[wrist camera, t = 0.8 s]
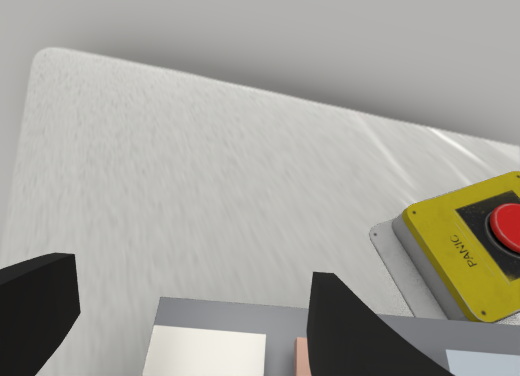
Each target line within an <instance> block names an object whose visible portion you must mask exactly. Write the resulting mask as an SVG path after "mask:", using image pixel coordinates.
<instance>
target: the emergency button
mask: <svg viewBox="0 0 520 376" xmlns="http://www.w3.org/2000/svg"><path fill="white" fill-rule="evenodd" d="M369 236H370V240H371V242H372V243H373V245H374V247H375V249H376V250H377V252H378V254H379V256H380V257H381V259H382V261H383V263H384V265H385V266H386V268H387V270H388V272H389V273H390V275H391V277H392V279H393V280H394V282H395V284H396V286H397V287H398V289H399V291H400V293H401V294H402V296H403V298H404V300H405V301H406V303H407V305H408V307H409V308H410V310H411V312H412V314H413V315H414V317H419V318H431V319H444V320H456V321H469V322H481V323H496V322H498V321H500V320H503V319H505V318H507V317H510V316H512V315H514V314H517V313H519V312H520V172H519V171H512V172H509V173H506V174H503V175H500V176H497V177H494V178H491V179H488V180H485V181H482V182H479V183H476V184H473V185H470V186H467V187H464V188H461V189H458V190H454V191H451V192H448V193H445V194H442V195H439V196H436V197H433V198H430V199H427V200H424V201H421V202H418V203H415V204H412V205H410V206H409V207H408V208H406V209H405V210H404V211H403V213H401V214H400V215H399V216H398V217H397V218H395V219H392V220H389V221H386V222H383V223H380V224H377V225H376V226H374V227H372V228H371V230H370V233H369Z"/></svg>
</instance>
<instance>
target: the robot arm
mask: <svg viewBox="0 0 520 376" xmlns="http://www.w3.org/2000/svg"><path fill="white" fill-rule="evenodd" d="M80 313H81V312H80V302H79V292H78V282H77V272H76V262H75V254H66V253H51V254H47V255H43V256H39V257H36V258H33V259H30V260H26V261H23V262H20V263H17V264H14V265H12V266H9V267H6V268H3V269H0V376H35V375H36V374H37V373H38V371H39V370H40V369H41V368H42V367H43V365H44V364H45V363H46V362H47V360H48V359H49V358H50V357H51V356H52V354H53V353H54V352H55V351H56V349H57V348H58V347H59V346H60V344H61V343H62V341H63V340H64V338H65V337H66V335H67V334H68V332H69V331H70V329H71V328H72V326H73V324H74V323H75V321H76V319H77V318H78V316H79V314H80ZM306 333H307V347H308V358H309V366H310V371H311V376H455V375H454V374H452V373H451V372H449V371H448V370H446V369H445V368H443V367H442V366H440V365H439V364H437V363H436V362H435V361H433V360H432V359H431V358H429V357H428V356H426V355H425V354H424V353H422V352H421V351H420V350H418V349H417V348H415V347H414V346H413V345H412V344H410V343H409V342H408V341H406V340H405V339H404V338H403V337H402V336H400V335H399V334H398V333H397V332H396V331H394V330H393V329H392V328H391V327H390V326H389V325H387V324H386V323H385V322H384V321H383V320H382V319H381V318H379V317H378V316H377V315H376V314H375V313H374V312H373V311H372V310H371V309H370V308H369V307H368V306H366V305H365V304H364V303H363V302H362V301H361V300H360V299H359V298H358V297H357V296H356V295H355V294H354V293H353V292H352V291H351V290H350V289H349V288H348V287H347V286H346V285H345V284H344V283H343V282H342V281H341V280H340V279H339V278H338V277H337V276H336V275H335V274H334V273H323V272H313V277H312V286H311V294H310V303H309V311H308V320H307V328H306Z"/></svg>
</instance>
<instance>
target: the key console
mask: <svg viewBox="0 0 520 376" xmlns="http://www.w3.org/2000/svg"><path fill="white" fill-rule="evenodd" d="M308 311H309V309H306V308H294V307H281V306H269V305H256V304H244V303H231V302H219V301H206V300H194V299H181V298H169V297H160V301H159V305H158V309H157V313H156V317H155V322H154V325H159V326H171V327H183V328H195V329H207V330H219V331H231V332H243V333H255V334H266V343H265V359H264V376H294V341H295V340H296V338H297V337H302V338H307V333H306V328H307V320H308ZM376 315H377V316H378V317H379V318H381V319H382V320H383V321H384V322H385V323H386V324H387V325H389V326H390V327H391V328H392V329H393V330H394V331H396V332H397V333H398V334H399V335H400V336H402V337H403V338H404V339H405V340H406V341H408V342H409V343H410V344H412V345H413V346H414V347H415V348H417V349H418V350H420V351H421V352H422V353H424V354H425V355H426V356H428V357H429V358H431V359H432V360H433V358H432V353H434V352H438V351H442V350H458V351H469V352H481V353H493V354H505V355H517V356H520V326H518V325H506V324H493V323H481V322H469V321H456V320H444V319H431V318H419V317H406V316H394V315H381V314H376ZM153 327H154V326H153ZM152 331H153V330H152ZM151 335H152V334H151ZM150 340H151V339H150ZM149 344H150V343H149ZM148 348H149V347H148ZM147 352H148V351H147ZM146 357H147V355H146ZM145 361H146V360H145ZM144 365H145V364H144ZM143 369H144V368H143ZM142 373H143V372H142Z"/></svg>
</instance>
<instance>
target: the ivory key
mask: <svg viewBox="0 0 520 376" xmlns="http://www.w3.org/2000/svg"><path fill="white" fill-rule="evenodd" d="M265 343H266V334H255V333H243V332H231V331H219V330H207V329H195V328H183V327H171V326H159V325H154V327H153V331H152V335H151V340H150V344H149V348H148V352H147V357H146V361H145V365H144V369H143V373H142V376H264V359H265Z"/></svg>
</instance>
